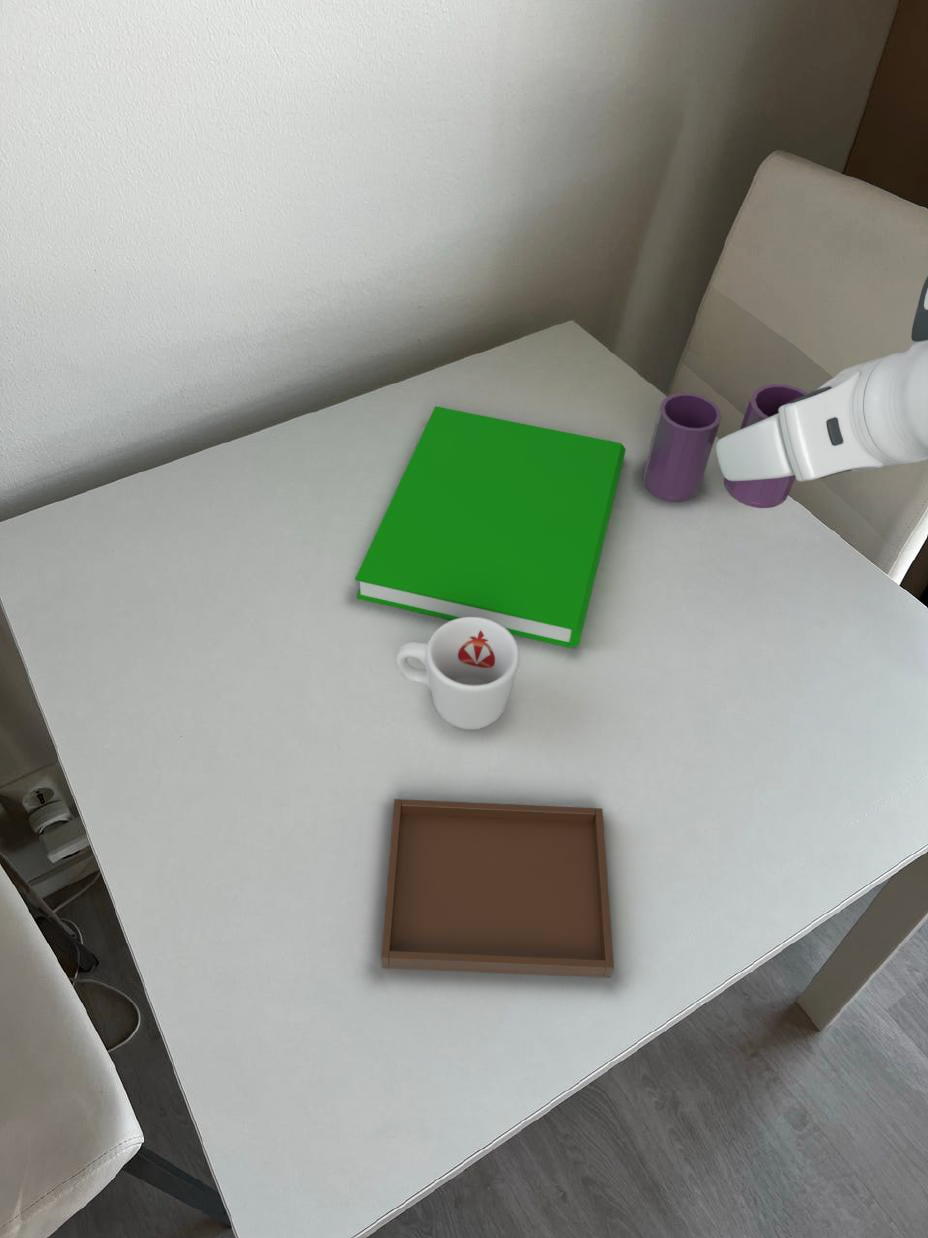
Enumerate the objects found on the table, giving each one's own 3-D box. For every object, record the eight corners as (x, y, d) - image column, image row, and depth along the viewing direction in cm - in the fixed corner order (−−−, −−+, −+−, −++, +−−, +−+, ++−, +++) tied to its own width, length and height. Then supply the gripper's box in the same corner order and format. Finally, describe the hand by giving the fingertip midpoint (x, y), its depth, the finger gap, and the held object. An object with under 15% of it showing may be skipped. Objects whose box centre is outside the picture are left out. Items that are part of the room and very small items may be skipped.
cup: (385, 723, 85) (382, 670, 79) (409, 655, 90) (409, 600, 84) (502, 750, 84) (509, 698, 78) (520, 680, 89) (528, 625, 83)
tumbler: (695, 465, 109) (716, 394, 102) (702, 503, 105) (725, 432, 98) (640, 462, 109) (657, 391, 102) (645, 500, 105) (663, 429, 98)
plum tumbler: (781, 467, 97) (813, 385, 89) (793, 510, 93) (828, 428, 85) (719, 463, 97) (745, 381, 89) (728, 506, 93) (757, 424, 85)
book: (356, 598, 94) (355, 578, 92) (434, 426, 112) (435, 406, 110) (577, 649, 91) (582, 629, 89) (622, 464, 109) (626, 444, 107)
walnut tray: (598, 819, 80) (602, 808, 78) (609, 978, 71) (614, 968, 70) (394, 810, 80) (394, 798, 78) (381, 968, 71) (380, 958, 70)
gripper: (958, 346, 81) (839, 379, 94) (773, 409, 74) (673, 436, 87) (974, 417, 82) (855, 441, 95) (794, 486, 75) (691, 502, 88)
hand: (766, 439), depth 91 cm, fingers closed on plum tumbler, 6 cm apart
